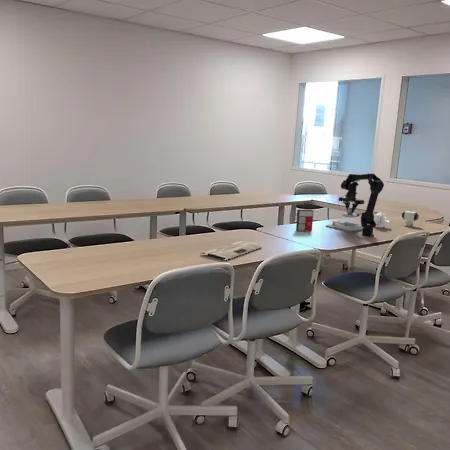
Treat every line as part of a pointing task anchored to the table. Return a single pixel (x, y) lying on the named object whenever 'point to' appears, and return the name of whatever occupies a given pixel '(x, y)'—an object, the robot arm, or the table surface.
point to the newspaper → (234, 249)
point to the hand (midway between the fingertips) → (350, 212)
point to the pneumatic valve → (410, 217)
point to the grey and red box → (304, 220)
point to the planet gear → (349, 213)
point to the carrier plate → (345, 226)
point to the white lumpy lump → (381, 220)
